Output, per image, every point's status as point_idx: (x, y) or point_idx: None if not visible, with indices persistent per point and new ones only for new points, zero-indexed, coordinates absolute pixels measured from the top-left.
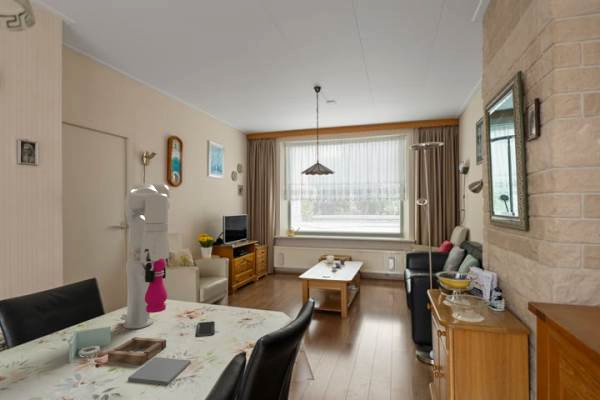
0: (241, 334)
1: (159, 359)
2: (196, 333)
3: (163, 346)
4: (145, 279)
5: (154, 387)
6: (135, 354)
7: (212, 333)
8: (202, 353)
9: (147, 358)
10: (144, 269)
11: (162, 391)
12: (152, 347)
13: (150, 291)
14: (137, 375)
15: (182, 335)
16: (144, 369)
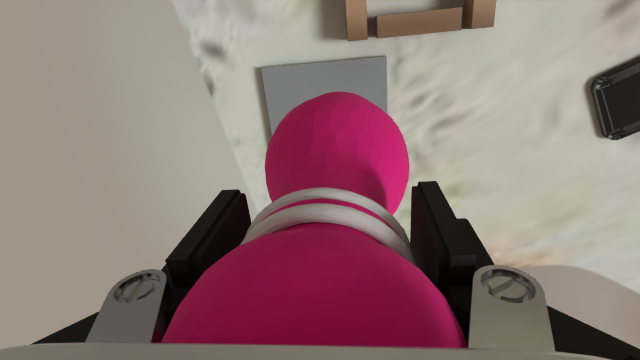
0: (605, 224)
1: (373, 83)
2: (614, 73)
3: (467, 28)
4: (216, 201)
5: (262, 154)
6: (352, 2)
7: (607, 137)
8: (450, 172)
9: (376, 33)
10: (116, 291)
11: (255, 180)
12: (416, 23)
13: (271, 187)
14: (276, 86)
15: (607, 16)
16: (309, 81)
